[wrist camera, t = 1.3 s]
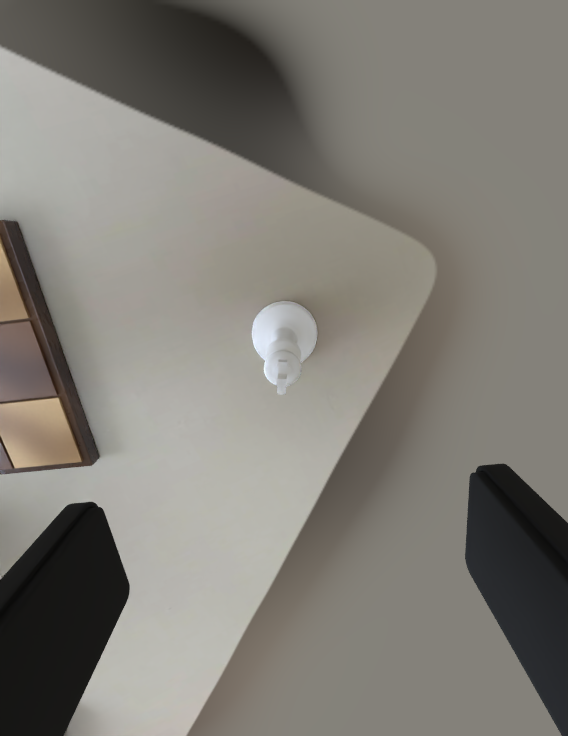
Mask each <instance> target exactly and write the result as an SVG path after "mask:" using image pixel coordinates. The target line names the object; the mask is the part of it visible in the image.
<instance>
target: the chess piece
mask: <svg viewBox="0 0 568 736" xmlns="http://www.w3.org/2000/svg"><path fill="white" fill-rule="evenodd" d="M317 335H318V332H317V325H316V322H315V320H314V318H313V316H312V315H311V313H310V312H309V311H308V310H307V309H306V308H304V307H303V306H301V305H299V304H297V303H294V302H290V301H279V302H275V303H272V304H270V305H268V306H266V307H265V308H264V309H262V310H261V311H260V312H259V314H258V315H257V317H256V318H255V320H254V323H253V327H252V340H253V344H254V347H255V349H256V351H257V352H258V354H259V355H260V356H261V357H262V358H263V359H264V360H265V364H264V373H265V376H266V378H267V379H268V380H269V381H270V382H271V383H272V384H274V385H277V394H286V386H289V385H292V384H293V383H295V382H296V381H297V380H298V379H299V377H300V375H301V371H302V366H301V362H302V361H304V360H305V359H306V358H307V357H308V356H309V355H310V354H311V353H312V351H313V349H314V347H315V345H316V341H317Z"/></svg>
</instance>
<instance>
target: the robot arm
mask: <svg viewBox="0 0 568 736" xmlns="http://www.w3.org/2000/svg"><path fill="white" fill-rule="evenodd" d="M467 519H468V520H467V535H466V553H465V559H466V564H467V568H468V570H469V573H470V575H471V576H472V578H473V580H474V582H475V583H476V585H477V587H478V589H479V590H480V592H481V593H482V596H483V597H484V599H485V601H486V603H487V605H488V606H489V608H490V610H491V612H492V613H493V615H494V617H495V619H496V620H497V622H498V624H499V626H500V627H501V629H502V631H503V632H504V634H505V636H506V638H507V640H508V641H509V643H510V645H511V647H512V649H513V650H514V652H515V654H516V655H517V657H518V659H519V661H520V662H521V664H522V666H523V668H524V669H525V671H526V673H527V675H528V677H529V678H530V680H531V682H532V684H533V685H534V687H535V689H536V691H537V693H538V694H539V696H540V698H541V700H542V701H543V703H544V705H545V707H546V708H547V710H548V712H549V714H550V715H551V717H552V719H553V721H554V722H555V724H556V726H557V728H558V730H559V731H560V733H561V735H562V736H568V523H567V522H566V521H565V520H564V519H563V518H562V517H561V516H560V515H559V514H558V513H557V512H556V511H554V510H553V509H552V508H551V507H550V506H549V505H548V504H547V503H546V502H545V501H544V500H543V499H542V498H541V497H540V496H539V495H538V494H537V493H536V492H535V491H533V489H532V488H531V487H530V486H529V485H527V484H526V483H525V482H524V481H523V480H522V479H521V478H520V477H519V476H518V475H517V474H516V473H515V472H514V471H513V470H512V469H511V468H510V467H509V466H507V465H506V464H495V465H483V466H479V467H478V468H477V470H476V472H475V473H472V474H471V475H470V483H469V501H468V518H467ZM129 590H130V587H129V582H128V579H127V576H126V573H125V570H124V567H123V564H122V562H121V559H120V556H119V553H118V550H117V547H116V544H115V542H114V539H113V536H112V533H111V530H110V527H109V525H108V522H107V519H106V516H105V513H104V511H103V509H102V508H101V507H98V506H97V504H96V503H94V502H85V503H74V504H69V505H67V506H66V507H65V508H64V509H63V510H62V511H61V512H60V514H59V515H58V516H57V517H56V518H55V519H54V520H53V521H52V523H51V524H50V525H49V526H48V527H47V528H46V529H45V530H44V531H43V533H42V534H41V535H40V536H39V537H38V538H37V539H36V540H35V542H34V543H33V544H32V545H31V546H30V547H29V548H28V549H27V551H26V552H25V553H24V554H23V555H22V556H21V557H20V558H19V560H18V561H17V562H16V563H15V564H14V565H13V566H12V567H11V569H10V570H9V571H8V572H7V573H6V574H5V575H4V576H3V577H2V579H1V580H0V736H64V733H65V731H66V729H67V727H68V725H69V723H70V721H71V719H72V716H73V714H74V712H75V710H76V708H77V706H78V704H79V702H80V699H81V697H82V695H83V693H84V691H85V689H86V687H87V685H88V682H89V680H90V678H91V676H92V674H93V672H94V670H95V668H96V665H97V663H98V661H99V659H100V657H101V655H102V653H103V651H104V648H105V646H106V644H107V642H108V640H109V638H110V636H111V634H112V631H113V629H114V627H115V625H116V623H117V621H118V619H119V617H120V614H121V612H122V610H123V608H124V606H125V604H126V602H127V599H128V596H129Z"/></svg>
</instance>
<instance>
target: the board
mask: <svg viewBox="0 0 568 736" xmlns="http://www.w3.org/2000/svg"><path fill="white" fill-rule="evenodd" d="M98 459H99V455H98V452H97V449H96V446H95V443H94V440H93V438H92V435H91V432H90V429H89V426H88V423H87V420H86V418H85V415H84V412H83V409H82V406H81V403H80V401H79V398H78V395H77V392H76V389H75V386H74V383H73V381H72V378H71V375H70V372H69V369H68V366H67V363H66V361H65V358H64V355H63V352H62V349H61V346H60V343H59V341H58V338H57V335H56V332H55V329H54V326H53V323H52V321H51V318H50V315H49V312H48V309H47V306H46V303H45V301H44V298H43V295H42V292H41V289H40V286H39V283H38V281H37V278H36V275H35V272H34V269H33V266H32V264H31V261H30V258H29V255H28V252H27V249H26V246H25V244H24V241H23V238H22V235H21V232H20V229H19V226H18V224H17V222H16V221H8V220H0V474H10V473H20V472H31V471H41V470H51V469H61V468H71V467H81V466H91V465H93V464H94V463H95V462H96V461H97V460H98Z"/></svg>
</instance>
